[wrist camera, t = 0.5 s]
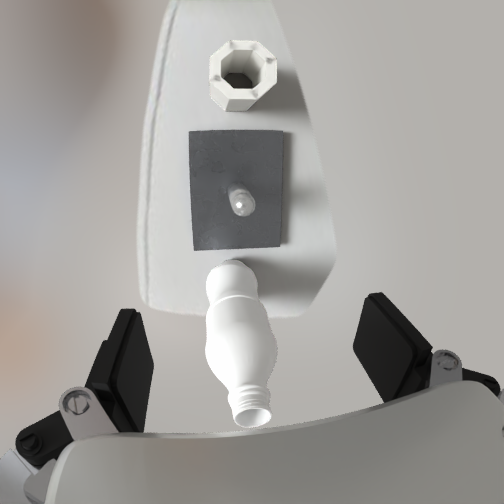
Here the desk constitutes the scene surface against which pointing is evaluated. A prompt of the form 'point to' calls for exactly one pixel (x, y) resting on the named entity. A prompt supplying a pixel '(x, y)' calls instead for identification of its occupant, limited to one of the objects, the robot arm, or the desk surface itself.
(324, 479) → the robot arm
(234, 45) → the white hollow octagonal tube
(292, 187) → the desk surface
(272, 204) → the roll holder
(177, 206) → the desk surface
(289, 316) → the desk surface
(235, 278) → the water bottle
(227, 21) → the desk surface
